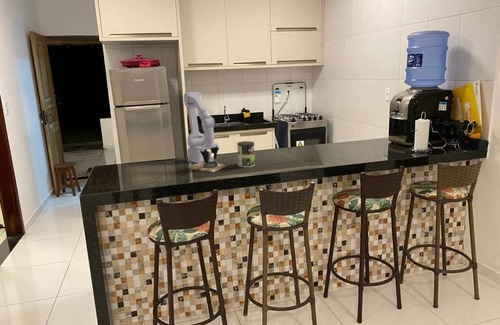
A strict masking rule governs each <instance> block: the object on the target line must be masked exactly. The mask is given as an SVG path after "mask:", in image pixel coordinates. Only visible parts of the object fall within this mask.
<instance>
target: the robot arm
mask: <svg viewBox="0 0 500 325" xmlns="http://www.w3.org/2000/svg"><path fill="white" fill-rule="evenodd" d="M183 102H184V106H185V107H187V114H188V119H189V120H188V121H189V126H190V133H189V134H188V135H187V146H188V148H187V152H186V153H187V160H186V161H187V162H189V163H190V162H191V163H195V164H198V163H201V162H208V155H209V153H214V160H216V159H217V155H218V151H219V150H220V147H219V143H216V142H215V133H214V128H215V127H216V121H215V118H214V117H212V116H211V115H210V114H209V111H208V110H207V108H205V107H204V105H203V102H202V93H201V92H200V91H191V92H189V91H188V92H187V91H186V92H185V93H184V94H183ZM197 111H198V113H197ZM197 115H198V116H199V119H200V121H201V126H202V131H203V133H201V132H200V130H199V124H198V116H197ZM209 150H210V151H209Z"/></svg>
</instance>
